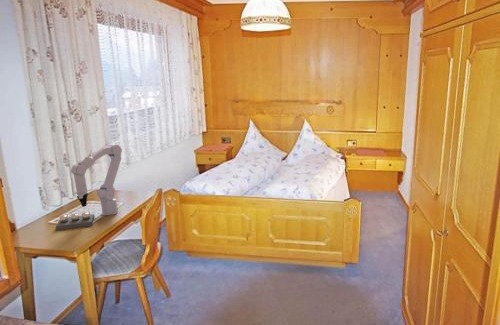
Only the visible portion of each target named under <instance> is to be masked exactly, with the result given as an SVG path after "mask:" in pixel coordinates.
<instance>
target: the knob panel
mask: <svg viewBox="0 0 500 325" xmlns="http://www.w3.org/2000/svg"><path fill="white" fill-rule="evenodd" d="M90 217H91V218H89V219H86V220H84V219H82V215H79V218H80V219H79V220H77V221H72V220H71V216H68V219H69V221H67V222H60V219H59V220H58V222H57V223H56V225H55V229H56V231H61V230H68V229H75V228H76V229H77V228H82V227H83V228H84V227H91V226H93V225H94V221H95V213H90Z"/></svg>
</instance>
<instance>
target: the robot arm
mask: <svg viewBox="0 0 500 325" xmlns="http://www.w3.org/2000/svg"><path fill="white" fill-rule="evenodd" d="M122 151H123V149H122V147H121V146H120V145H119V144H114V143H105V144H104V145H102V147H100V149H98V150H97V151H96V152H95V153H93V154H92V155H91V156H85V157H84V159H82V160H81V161H78V162H77V163H76V164H74V165H72V167H71V169H70V172H71V174H72V175H73V177H74V184H75V189H76V191H75V192H74V195H77V196H76V199H78V200H79V202H80V204H81V207H82V208H85V207H87V204H88V203H87V202H88V196H89V191H88V187H87V180H86V175H85V174H86V172H87V170H89V169H90V168H91V167H92V166H94V165H95V162H97V161H98V160H99V159H101V158H102V157H104V156H106V155H107V156H108V157H109V158H110V163H109V165H108V169H107V173H106V176H105V179H104V183H103V184H102V185H101V186H100V187H99V189H98V190H97V193H96V195H97V197H98V198H99V200H100V207H101V213H100V214H101V217H102V215H103V216H109V215H117V214H118V211H119V207H118V201H117V198H115V191H116V188H115V187H114V184H115V180H116V178H117V174H118V170H119V167H120V164H121V160H122Z"/></svg>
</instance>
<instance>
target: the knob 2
mask: <svg viewBox="0 0 500 325" xmlns="http://www.w3.org/2000/svg"><path fill="white" fill-rule="evenodd" d="M90 214H91V212H90V211H84V212H82V213H81V216H82V219H84V220H86V219H89V218H91V217H90Z"/></svg>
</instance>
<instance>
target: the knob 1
mask: <svg viewBox="0 0 500 325" xmlns="http://www.w3.org/2000/svg"><path fill="white" fill-rule="evenodd" d="M68 217H69V214H62V215H60V216H59V220H60V222H67V221H69V219H68Z"/></svg>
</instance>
